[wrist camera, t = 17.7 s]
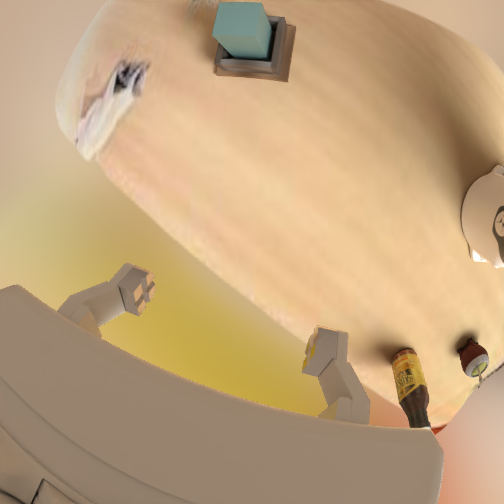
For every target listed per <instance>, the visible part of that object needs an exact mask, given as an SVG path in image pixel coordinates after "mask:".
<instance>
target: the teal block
mask: <svg viewBox="0 0 504 504" xmlns="http://www.w3.org/2000/svg"><path fill="white" fill-rule="evenodd" d="M212 36H213V37H214V38H215V39H216V40H217V41H218V42H219V43H220V44H221V45H222V46H223V47H224V48H225V49H226V50H227V51H228V52H229V53H230V54H231V55H232V56H233V57H234V58H235V59H237V60H253V61H264V62H270V59H271V53H272V47H273V41H274V34H273V32H272V29H271V26H270V23H269V21H268V18H267V15H266V13H265V10H264V8H263V5H262V3H253V2H227V3H219V6H218V10H217V14H216V19H215V23H214V28H213V33H212Z"/></svg>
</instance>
